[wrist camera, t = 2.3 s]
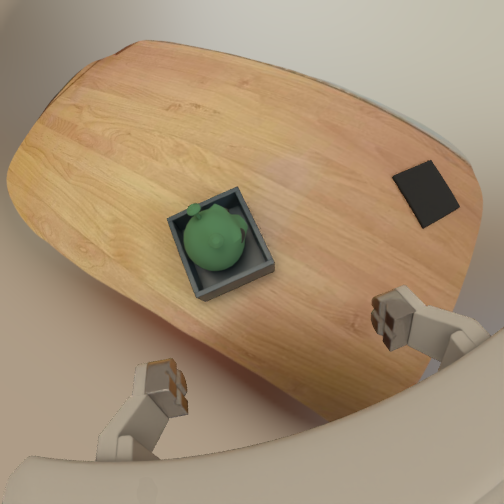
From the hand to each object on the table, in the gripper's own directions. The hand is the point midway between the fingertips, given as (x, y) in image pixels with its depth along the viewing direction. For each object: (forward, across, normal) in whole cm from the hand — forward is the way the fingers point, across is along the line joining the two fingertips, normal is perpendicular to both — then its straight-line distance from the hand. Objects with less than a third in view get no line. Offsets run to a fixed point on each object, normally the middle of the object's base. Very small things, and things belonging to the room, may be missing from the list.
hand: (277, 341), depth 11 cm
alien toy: (+27, +2, +9) cm, 28 cm away
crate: (+27, +2, +9) cm, 28 cm away
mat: (+26, -30, +8) cm, 40 cm away
